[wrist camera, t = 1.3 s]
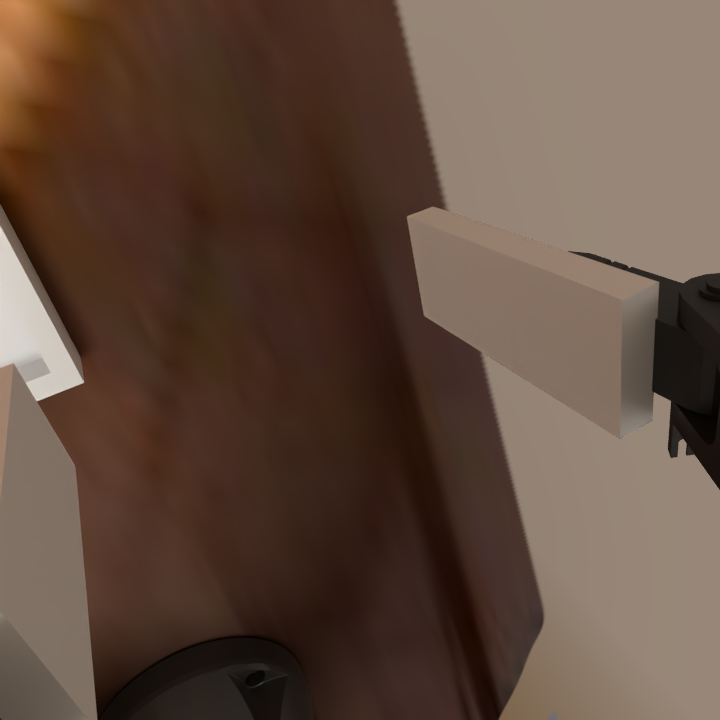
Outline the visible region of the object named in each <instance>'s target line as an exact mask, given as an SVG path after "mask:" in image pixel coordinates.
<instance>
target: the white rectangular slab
mask: <svg viewBox="0 0 720 720" xmlns="http://www.w3.org/2000/svg"><path fill="white" fill-rule="evenodd" d="M12 363H14V364H15V366H16V368H17V369H18V371H19V373H20V374H21V376H22V378H23V379H24V381H25V383H26V384H27V386H28V388H29V389H30V391H31V393H32V395H33V396H34V398H35V400H36V401H39V400H41V399H44V398H46V397H49V396H51V395H54V394H57V393H59V392H62V391H64V390H67V389H69V388H72V387H74V386H77V385H79V384H82V383H84V378H83V371H82V364H81V357H80V355H79V353H78V351H77V349H76V347H75V346H74V344H73V342H72V340H71V338H70V336H69V334H68V332H67V330H66V328H65V326H64V325H63V323H62V321H61V319H60V317H59V315H58V313H57V311H56V309H55V307H54V305H53V304H52V302H51V300H50V298H49V296H48V294H47V292H46V290H45V288H44V286H43V285H42V283H41V281H40V279H39V277H38V275H37V273H36V271H35V269H34V267H33V265H32V264H31V262H30V260H29V258H28V256H27V254H26V252H25V250H24V248H23V246H22V245H21V243H20V241H19V239H18V237H17V235H16V233H15V231H14V229H13V227H12V225H11V224H10V222H9V220H8V218H7V216H6V214H5V212H4V210H3V208H2V206H1V204H0V368H2V367H4V366H7V365H10V364H12Z"/></svg>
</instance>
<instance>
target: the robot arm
mask: <svg viewBox="0 0 720 720" xmlns="http://www.w3.org/2000/svg"><path fill="white" fill-rule="evenodd" d="M407 221H408V227H409V232H410V238H411V244H412V250H413V255H414V261H415V267H416V273H417V278H418V284H419V290H420V296H421V301H422V307H423V313H424V316H425V317H427V318H428V319H430V320H431V321H433V322H435V323H436V324H438V325H439V326H441V327H443V328H444V329H446V330H447V331H449V332H451V333H452V334H454V335H455V336H457V337H458V338H460V339H462V340H463V341H465V342H466V343H468V344H470V345H471V346H473V347H474V348H476V349H478V350H479V351H481V352H482V353H484V354H486V355H487V356H489V357H490V358H492V359H493V360H495V361H497V362H498V363H500V364H501V365H503V366H505V367H506V368H508V369H509V370H511V371H513V372H514V373H516V374H517V375H519V376H521V377H522V378H524V379H525V380H527V381H528V382H530V383H532V384H533V385H535V386H536V387H538V388H540V389H541V390H543V391H544V392H546V393H548V394H549V395H551V396H552V397H554V398H556V399H557V400H559V401H560V402H562V403H563V404H565V405H567V406H568V407H570V408H571V409H573V410H575V411H576V412H578V413H579V414H581V415H583V416H584V417H586V418H587V419H589V420H590V421H592V422H594V423H595V424H597V425H598V426H600V427H602V428H603V429H605V430H606V431H608V432H610V433H611V434H613V435H614V436H616V437H618V438H619V439H621V438H623V437H624V436H626V435H628V434H630V433H632V432H633V431H635V430H637V429H638V428H640V427H642V426H644V425H646V424H647V423H649V422H651V421H652V414H653V395H654V394H653V393H654V392H655V393H657V394H659V395H661V396H663V397H665V398H667V399H669V400H670V401H671V412H670V428H669V440H668V451H669V454H670V457H671V458H673V457H677V454H678V442H679V441H680V440H682V439H684V440H685V441H686V443H687V448H686V455H693V454H695V456H696V457H697V458H698V460H699V461H700V463H701V464H702V465H703V467H704V468H705V470H706V471H707V473H708V474H709V475H710V477H711V478H712V480H713V481H714V482H715V484H716V485H717V487H718V488H719V489H720V273H716V274H705V275H702V276H698V277H695V278H691V279H690V280H688V281H686V282H685V283H680V282H677V281H673V280H671V279H667V278H664V277H661V276H658V275H655V274H652V273H649V272H646V271H643V270H640V269H637V268H634V267H631V268H628V266H627V265H624V264H621V263H618V262H611V260H609V259H606V258H602V257H599V256H597V255H593V254H590V253H581V252H571V251H565V250H562V249H558V248H556V247H553V246H550V245H547V244H544V243H541V242H538V241H535V240H532V239H529V238H526V237H523V236H520V235H517V234H514V233H511V232H508V231H505V230H502V229H499V228H496V227H493V226H490V225H487V224H484V223H481V222H478V221H475V220H472V219H469V218H466V217H463V216H460V215H457V214H454V213H451V212H448V211H445V210H442V209H439V208H436V207H431V208H428V209H425V210H423V211H420V212H417V213H415V214H412V215H409V216H407ZM0 720H97V710H96V698H95V687H94V675H93V664H92V652H91V641H90V629H89V618H88V606H87V595H86V583H85V572H84V560H83V549H82V537H81V526H80V515H79V503H78V492H77V480H76V469H75V465H74V463H73V462H72V460H71V458H70V457H69V455H68V453H67V452H66V450H65V448H64V447H63V445H62V443H61V441H60V440H59V438H58V436H57V435H56V433H55V431H54V430H53V428H52V426H51V425H50V423H49V421H48V420H47V418H46V416H45V415H44V413H43V411H42V410H41V408H40V406H39V405H38V403H37V401H36V400H35V398H34V396H33V395H32V393H31V391H30V389H29V388H28V386H27V384H26V383H25V381H24V379H23V378H22V376H21V374H20V373H19V371H18V369H17V368H16V366H15V364H14V363H12V364H10V365H7V366H4V367H2V368H0ZM99 720H314V713H313V702H312V697H311V693H310V689H309V686H308V684H307V681H306V679H305V677H304V674H303V672H302V670H301V668H300V665H299V663H298V662H297V660H296V659H295V657H294V656H293V655H292V654H291V653H290V652H289V651H288V650H286V649H285V648H283V647H282V646H280V645H278V644H276V643H273V642H270V641H267V640H262V639H256V638H230V639H222V640H217V641H212V642H208V643H205V644H201V645H198V646H195V647H192V648H189V649H187V650H184V651H182V652H180V653H177V654H175V655H173V656H171V657H169V658H167V659H165V660H163V661H162V662H160V663H158V664H156V665H155V666H153V667H152V668H150V669H148V670H147V671H146V672H144V673H143V674H141V675H140V676H139V677H137V678H136V679H135V680H134V681H132V682H131V683H130V684H129V685H128V686H127V687H125V688H124V689H123V690H122V691H121V692H120V693H119V694H118V695H117V696H116V697H115V699H114V700H113V701H112V702H111V703H110V704H109V706H108V707H107V708H106V710H105V711H104V712H103V714H102V715H101V717H100V719H99Z"/></svg>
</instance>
